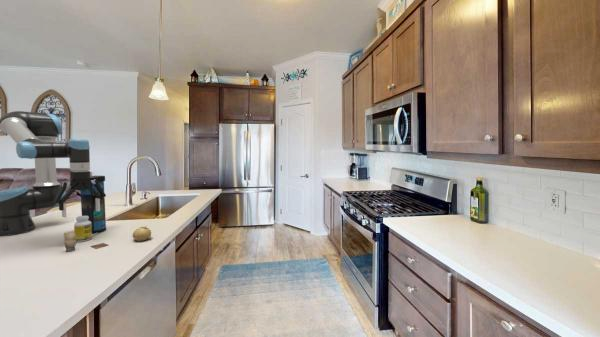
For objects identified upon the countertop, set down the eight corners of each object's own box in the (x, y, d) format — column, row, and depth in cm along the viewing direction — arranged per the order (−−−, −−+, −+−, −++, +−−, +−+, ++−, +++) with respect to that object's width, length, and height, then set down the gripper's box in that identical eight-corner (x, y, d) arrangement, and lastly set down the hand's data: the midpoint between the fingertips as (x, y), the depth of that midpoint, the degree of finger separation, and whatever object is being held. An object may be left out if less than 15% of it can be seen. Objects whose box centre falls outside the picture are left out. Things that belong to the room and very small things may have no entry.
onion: (131, 243, 125) (131, 229, 125) (133, 238, 132) (133, 224, 132) (151, 241, 129) (150, 226, 128) (151, 236, 136) (151, 222, 135)
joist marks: (69, 238, 132) (69, 237, 132) (81, 235, 136) (81, 234, 136) (95, 248, 118) (95, 248, 118) (108, 245, 122) (108, 244, 122)
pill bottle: (82, 242, 125) (80, 219, 125) (71, 241, 127) (70, 218, 126) (95, 238, 132) (94, 215, 131) (85, 237, 133) (83, 214, 132)
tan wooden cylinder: (63, 250, 115) (62, 233, 115) (73, 248, 119) (72, 230, 118) (67, 252, 114) (66, 234, 113) (77, 249, 117) (76, 232, 116)
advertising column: (86, 236, 135) (83, 178, 133) (77, 232, 141) (74, 176, 139) (111, 230, 144) (108, 176, 142) (101, 227, 150) (99, 175, 148)
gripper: (49, 173, 114) (51, 221, 116) (112, 169, 136) (114, 210, 138) (42, 172, 118) (44, 218, 120) (105, 168, 139) (106, 207, 141)
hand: (81, 213), depth 129 cm, fingers open, 13 cm apart
